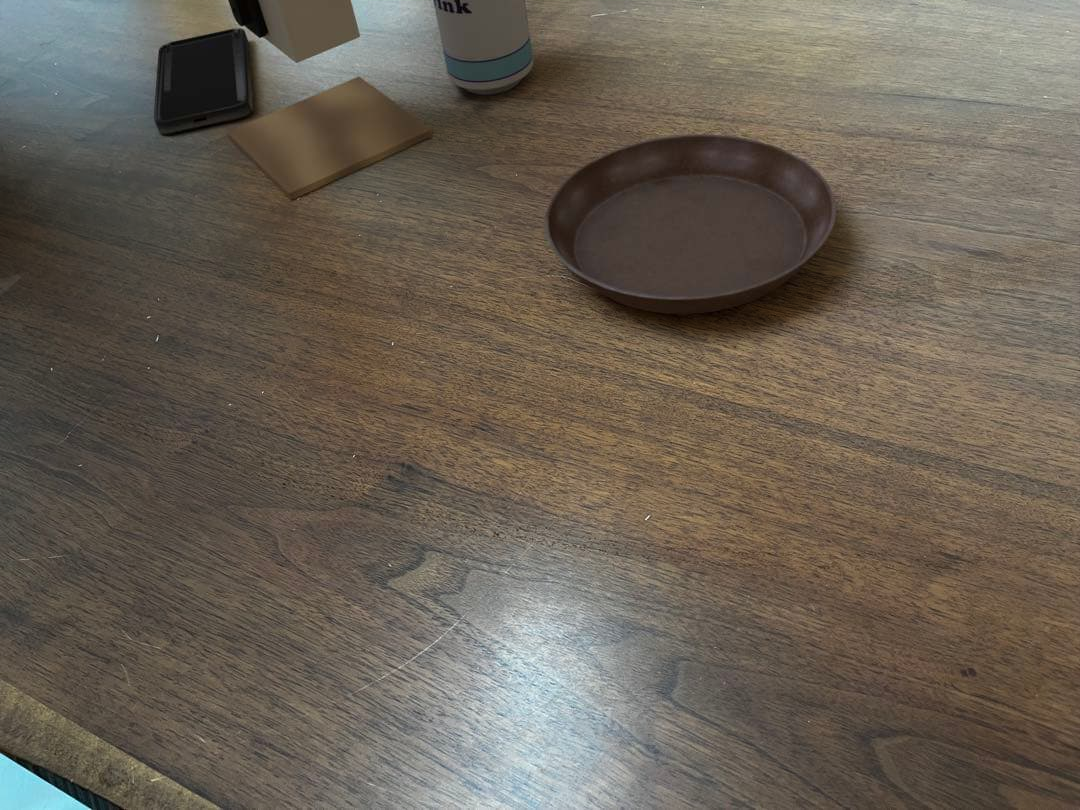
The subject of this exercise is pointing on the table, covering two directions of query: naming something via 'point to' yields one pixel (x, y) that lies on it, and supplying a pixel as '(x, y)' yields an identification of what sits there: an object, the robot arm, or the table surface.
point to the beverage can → (485, 43)
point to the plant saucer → (690, 222)
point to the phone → (203, 81)
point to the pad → (327, 136)
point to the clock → (308, 25)
